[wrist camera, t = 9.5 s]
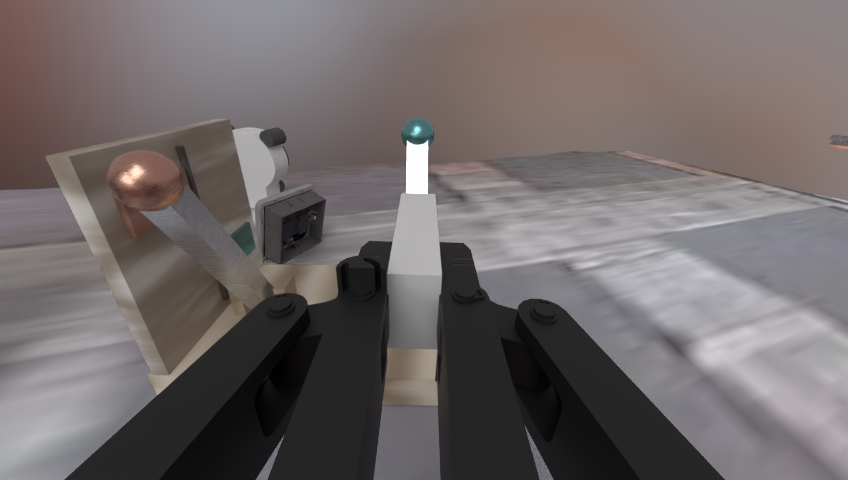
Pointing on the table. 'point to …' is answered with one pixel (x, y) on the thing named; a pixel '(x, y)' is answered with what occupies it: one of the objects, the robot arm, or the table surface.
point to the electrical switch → (289, 222)
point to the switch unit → (180, 274)
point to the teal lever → (417, 154)
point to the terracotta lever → (185, 221)
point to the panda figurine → (261, 162)
